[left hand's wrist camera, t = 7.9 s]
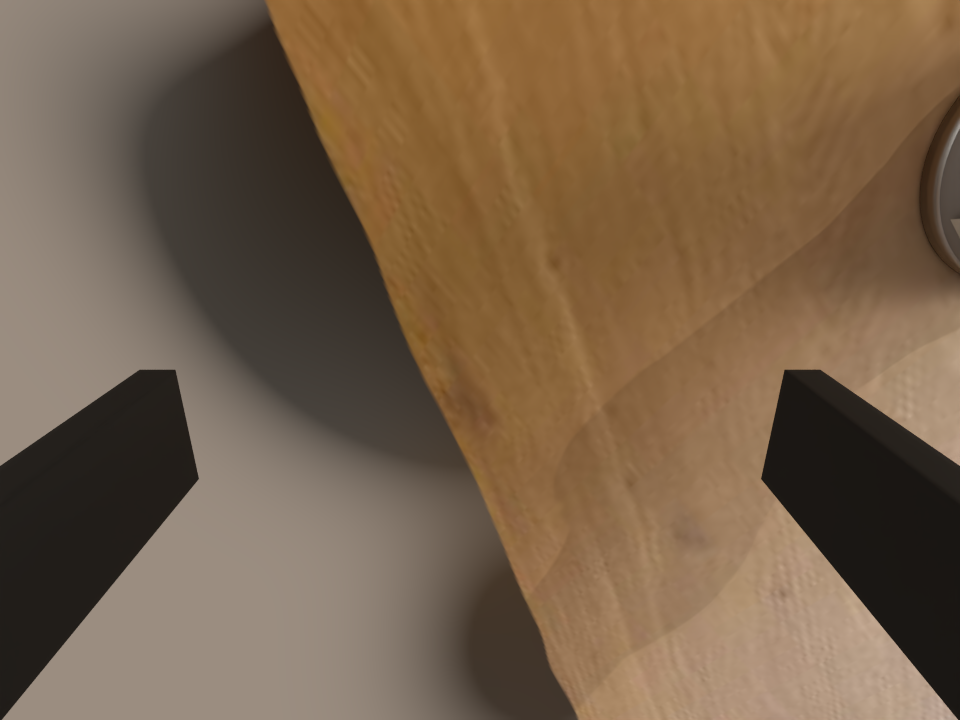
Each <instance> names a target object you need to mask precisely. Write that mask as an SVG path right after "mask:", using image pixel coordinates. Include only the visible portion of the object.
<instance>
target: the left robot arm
mask: <svg viewBox="0 0 960 720" xmlns="http://www.w3.org/2000/svg"><path fill="white" fill-rule="evenodd" d="M920 210H921V216H922V222H923V225H924V229H925V232H926V235H927V237H928V239H929V242H930V243H931V245H932V247H933V248H934V250H935V251H936V253H937V254H938V255H939V257H940V258H941V259H942V260H943V261H944V262H945V263H946V264H947V265H948V266H950V267H951V268H952V269H954V270H955V271H956V272H958V273H960V96H959V97H958V99H957V100H956V101H955V103H954V104H953V106H952V107H951V108H950V110H949V111H948V113H947V115H946V116H945V118H944V119H943V121H942V123H941V125H940V127H939V129H938V131H937V133H936V134H935V137H934V139H933V141H932V144H931V146H930V149H929V152H928V155H927V158H926V161H925V165H924V169H923V173H922V179H921V186H920ZM198 479H199V478H198V473H197V468H196V464H195V459H194V454H193V450H192V445H191V441H190V436H189V431H188V427H187V422H186V417H185V413H184V408H183V403H182V399H181V394H180V389H179V385H178V380H177V375H176V371H175V370H139V371H137V372H136V373H134V374H133V375H132V376H130V377H129V378H127V379H126V380H124V381H123V382H121V383H120V384H119V385H117V386H116V387H114V388H113V389H111V390H110V391H108V392H107V393H105V394H104V395H103V396H101V397H100V398H98V399H97V400H95V401H94V402H92V403H91V404H90V405H88V406H87V407H85V408H84V409H82V410H81V411H79V412H78V413H76V414H75V415H74V416H72V417H71V418H69V419H68V420H66V421H65V422H63V423H62V424H61V425H59V426H58V427H56V428H55V429H53V430H52V431H50V432H49V433H47V434H46V435H45V436H43V437H42V438H40V439H39V440H37V441H36V442H34V443H33V444H32V445H30V446H29V447H27V448H26V449H24V450H23V451H21V452H20V453H18V454H17V455H16V456H14V457H13V458H11V459H10V460H8V461H7V462H5V463H4V464H3V465H1V466H0V720H2V719H3V717H4V716H5V715H6V714H7V713H8V711H9V710H10V709H11V708H12V706H13V705H14V704H15V703H16V702H17V700H18V699H19V698H20V697H21V696H22V694H23V693H24V692H25V691H26V689H27V688H28V687H29V686H30V684H31V683H32V682H33V681H34V680H35V678H36V677H37V676H38V675H39V674H40V672H41V671H42V670H43V669H44V667H45V666H46V665H47V664H48V663H49V661H50V660H51V659H52V658H53V656H54V655H55V654H56V653H57V651H58V650H59V649H60V648H61V647H62V645H63V644H64V643H65V642H66V641H67V639H68V638H69V637H70V636H71V634H72V633H73V632H74V631H75V630H76V628H77V627H78V626H79V625H80V623H81V622H82V621H83V620H84V619H85V617H86V616H87V615H88V614H89V612H90V611H91V610H92V609H93V608H94V606H95V605H96V604H97V603H98V601H99V600H100V599H101V598H102V597H103V595H104V594H105V593H106V592H107V590H108V589H109V588H110V587H111V585H112V584H113V583H114V582H115V581H116V579H117V578H118V577H119V576H120V575H121V573H122V572H123V571H124V570H125V568H126V567H127V566H128V565H129V564H130V562H131V561H132V560H133V559H134V557H135V556H136V555H137V554H138V553H139V551H140V550H141V549H142V548H143V546H144V545H145V544H146V543H147V542H148V540H149V539H150V538H151V537H152V535H153V534H154V533H155V532H156V531H157V529H158V528H159V527H160V526H161V524H162V523H163V522H164V521H165V520H166V518H167V517H168V516H169V515H170V513H171V512H172V511H173V510H174V509H175V507H176V506H177V505H178V504H179V502H180V501H181V500H182V499H183V498H184V496H185V495H186V494H187V493H188V491H189V490H190V489H191V488H192V487H193V485H194V484H195V483H196V482H197V480H198ZM761 479H762V480H763V482H764V483H765V484H766V485H767V487H768V488H769V489H770V490H771V491H772V493H773V494H774V495H775V496H776V498H777V499H778V500H779V501H780V502H781V504H782V505H783V506H784V507H785V509H786V510H787V511H788V512H789V513H790V515H791V516H792V517H793V518H794V520H795V521H796V522H797V523H798V524H799V526H800V527H801V528H802V529H803V531H804V532H805V533H806V534H807V535H808V537H809V538H810V539H811V540H812V542H813V543H814V544H815V545H816V546H817V548H818V549H819V550H820V551H821V553H822V554H823V555H824V556H825V557H826V559H827V560H828V561H829V562H830V564H831V565H832V566H833V567H834V568H835V570H836V571H837V572H838V573H839V575H840V576H841V577H842V578H843V579H844V581H845V582H846V583H847V584H848V586H849V587H850V588H851V589H852V590H853V592H854V593H855V594H856V595H857V597H858V598H859V599H860V600H861V601H862V603H863V604H864V605H865V606H866V608H867V609H868V610H869V611H870V612H871V614H872V615H873V616H874V617H875V619H876V620H877V621H878V622H879V623H880V625H881V626H882V627H883V628H884V630H885V631H886V632H887V633H888V634H889V636H890V637H891V638H892V639H893V641H894V642H895V643H896V644H897V645H898V647H899V648H900V649H901V650H902V652H903V653H904V654H905V655H906V656H907V658H908V659H909V660H910V661H911V663H912V664H913V665H914V666H915V667H916V669H917V670H918V671H919V672H920V674H921V675H922V676H923V677H924V678H925V680H926V681H927V682H928V683H929V685H930V686H931V687H932V688H933V689H934V691H935V692H936V693H937V694H938V696H939V697H940V698H941V699H942V700H943V702H944V703H945V704H946V705H947V707H948V708H949V709H950V710H951V711H952V713H953V714H954V715H955V716H956V718H957V719H958V720H960V466H959V465H957V464H956V463H955V462H953V461H952V460H950V459H949V458H947V457H946V456H944V455H943V454H942V453H940V452H939V451H937V450H936V449H934V448H933V447H931V446H930V445H928V444H927V443H926V442H924V441H923V440H921V439H920V438H918V437H917V436H915V435H914V434H913V433H911V432H910V431H908V430H907V429H905V428H904V427H902V426H901V425H899V424H898V423H897V422H895V421H894V420H892V419H891V418H889V417H888V416H886V415H885V414H884V413H882V412H881V411H879V410H878V409H876V408H875V407H873V406H872V405H870V404H869V403H868V402H866V401H865V400H863V399H862V398H860V397H859V396H857V395H856V394H855V393H853V392H852V391H850V390H849V389H847V388H846V387H844V386H843V385H841V384H840V383H839V382H837V381H836V380H834V379H833V378H831V377H830V376H828V375H827V374H826V373H824V372H823V371H821V370H785V371H784V375H783V380H782V385H781V389H780V394H779V399H778V403H777V408H776V412H775V417H774V422H773V426H772V431H771V436H770V440H769V445H768V450H767V454H766V459H765V464H764V468H763V473H762V478H761Z"/></svg>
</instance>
